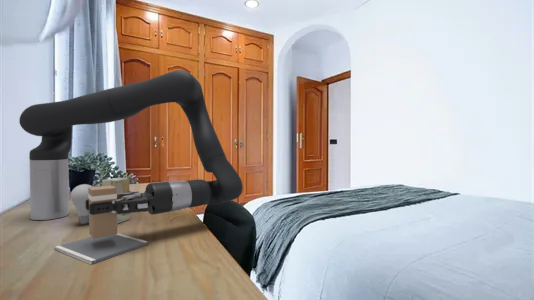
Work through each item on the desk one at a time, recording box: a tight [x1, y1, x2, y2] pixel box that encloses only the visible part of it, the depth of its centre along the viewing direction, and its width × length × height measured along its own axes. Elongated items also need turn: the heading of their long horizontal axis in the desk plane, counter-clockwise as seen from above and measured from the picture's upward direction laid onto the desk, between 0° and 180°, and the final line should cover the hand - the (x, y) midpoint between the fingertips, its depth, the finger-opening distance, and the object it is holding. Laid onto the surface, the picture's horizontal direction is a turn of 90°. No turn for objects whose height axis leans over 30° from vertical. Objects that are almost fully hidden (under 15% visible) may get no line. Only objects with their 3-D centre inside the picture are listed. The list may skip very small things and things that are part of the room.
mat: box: [54, 232, 149, 265], centre depth 61 cm, size 14×12×1 cm
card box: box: [88, 185, 118, 239], centre depth 61 cm, size 5×5×10 cm
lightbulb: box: [69, 183, 94, 225], centre depth 77 cm, size 6×6×11 cm
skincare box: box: [101, 177, 131, 225], centre depth 80 cm, size 6×4×12 cm
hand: (88, 207), depth 59 cm, fingers closed on card box, 4 cm apart
